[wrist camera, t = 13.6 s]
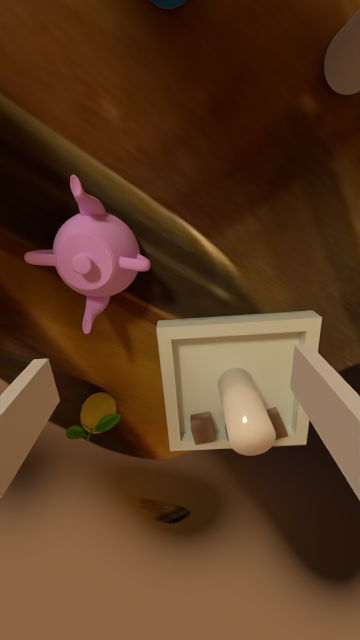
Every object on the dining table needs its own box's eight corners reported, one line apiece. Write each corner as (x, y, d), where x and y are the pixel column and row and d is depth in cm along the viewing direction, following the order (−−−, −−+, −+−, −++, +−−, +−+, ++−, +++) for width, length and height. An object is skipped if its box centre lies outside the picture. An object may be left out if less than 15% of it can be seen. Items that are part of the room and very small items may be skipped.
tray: (170, 438, 52) (170, 451, 49) (158, 320, 43) (156, 328, 41) (299, 431, 51) (306, 444, 49) (312, 310, 43) (322, 317, 40)
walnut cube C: (262, 427, 50) (268, 442, 47) (256, 413, 49) (262, 427, 46) (281, 421, 50) (288, 435, 46) (275, 406, 48) (282, 420, 45)
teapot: (103, 311, 43) (85, 336, 35) (36, 238, 39) (-3, 246, 31) (163, 265, 40) (158, 279, 32) (96, 181, 36) (72, 173, 28)
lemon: (80, 402, 49) (57, 447, 40) (91, 377, 47) (70, 418, 38) (115, 416, 50) (100, 463, 41) (128, 392, 48) (115, 436, 39)
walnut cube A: (194, 430, 50) (195, 445, 47) (190, 415, 49) (190, 429, 46) (213, 426, 50) (215, 441, 47) (209, 411, 49) (211, 425, 46)
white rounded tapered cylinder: (217, 399, 48) (229, 456, 37) (217, 369, 46) (228, 420, 35) (252, 397, 48) (274, 454, 37) (253, 367, 46) (277, 418, 34)
